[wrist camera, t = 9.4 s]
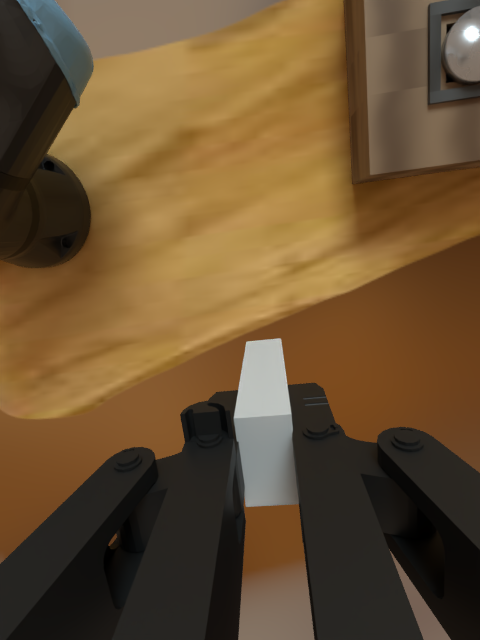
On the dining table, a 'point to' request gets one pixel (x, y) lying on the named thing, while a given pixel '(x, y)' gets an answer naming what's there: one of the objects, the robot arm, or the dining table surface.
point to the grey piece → (463, 49)
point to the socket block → (407, 91)
